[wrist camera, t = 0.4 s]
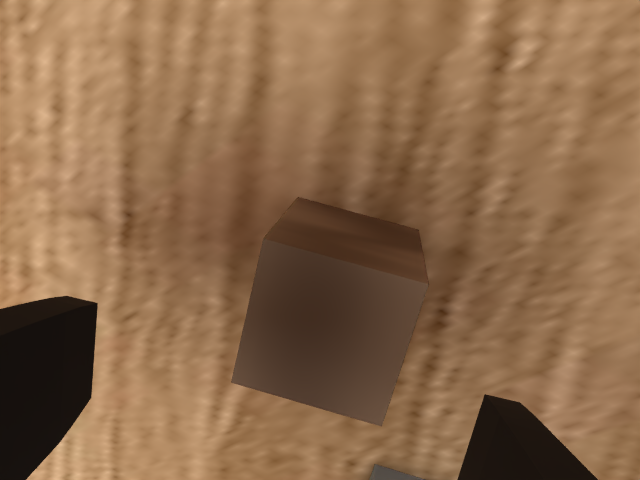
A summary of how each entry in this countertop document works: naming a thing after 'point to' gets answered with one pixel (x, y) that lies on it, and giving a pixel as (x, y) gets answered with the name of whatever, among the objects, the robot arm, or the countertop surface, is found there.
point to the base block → (390, 474)
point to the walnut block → (332, 310)
